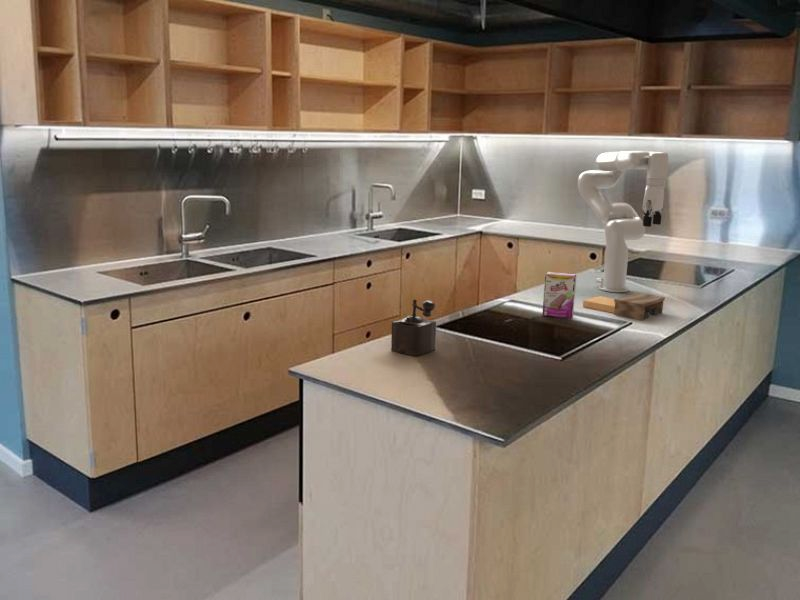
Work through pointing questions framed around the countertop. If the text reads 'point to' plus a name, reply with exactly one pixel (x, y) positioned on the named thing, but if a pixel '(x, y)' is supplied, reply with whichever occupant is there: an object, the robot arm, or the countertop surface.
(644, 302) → the walnut shelf
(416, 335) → the black manual coffee grinder
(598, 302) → the orange cover
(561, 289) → the candy bar box
